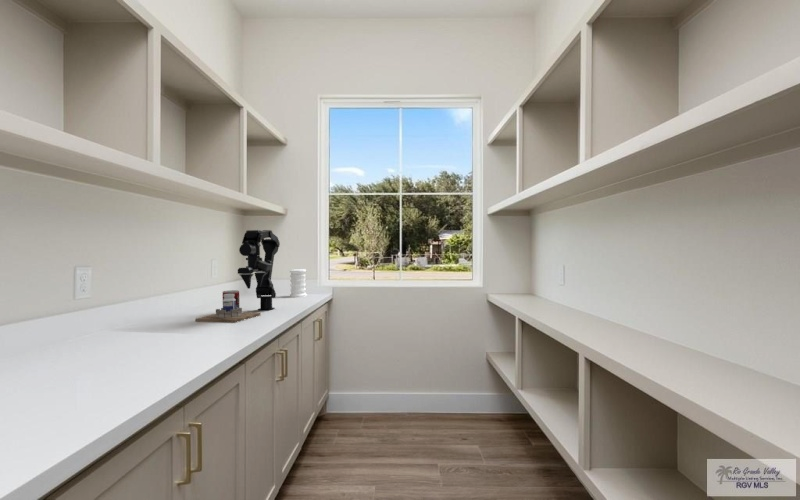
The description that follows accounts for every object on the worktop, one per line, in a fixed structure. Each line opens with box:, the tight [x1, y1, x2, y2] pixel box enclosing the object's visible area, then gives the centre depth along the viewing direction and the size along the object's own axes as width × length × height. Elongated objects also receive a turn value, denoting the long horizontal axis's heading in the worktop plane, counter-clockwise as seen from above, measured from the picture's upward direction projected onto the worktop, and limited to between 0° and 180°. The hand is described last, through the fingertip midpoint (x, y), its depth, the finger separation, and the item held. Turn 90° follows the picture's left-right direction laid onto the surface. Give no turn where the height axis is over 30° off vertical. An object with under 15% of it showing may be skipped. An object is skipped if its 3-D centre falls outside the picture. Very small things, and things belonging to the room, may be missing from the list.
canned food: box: [222, 289, 240, 308], centre depth 212 cm, size 8×8×11 cm
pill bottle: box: [222, 294, 236, 312], centre depth 194 cm, size 6×6×10 cm
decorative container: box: [289, 269, 308, 298], centre depth 286 cm, size 12×12×18 cm
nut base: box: [194, 306, 261, 323], centre depth 194 cm, size 20×20×4 cm
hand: (254, 287), depth 205 cm, fingers open, 9 cm apart
